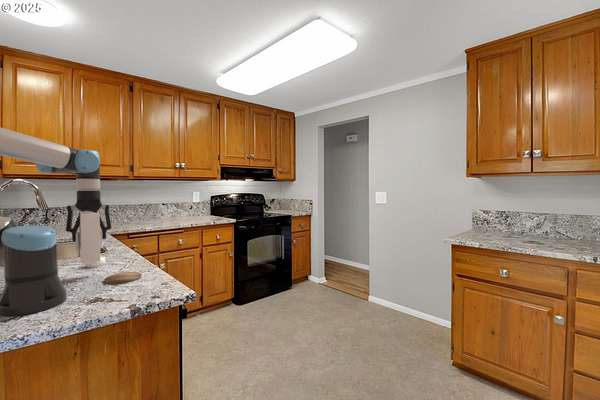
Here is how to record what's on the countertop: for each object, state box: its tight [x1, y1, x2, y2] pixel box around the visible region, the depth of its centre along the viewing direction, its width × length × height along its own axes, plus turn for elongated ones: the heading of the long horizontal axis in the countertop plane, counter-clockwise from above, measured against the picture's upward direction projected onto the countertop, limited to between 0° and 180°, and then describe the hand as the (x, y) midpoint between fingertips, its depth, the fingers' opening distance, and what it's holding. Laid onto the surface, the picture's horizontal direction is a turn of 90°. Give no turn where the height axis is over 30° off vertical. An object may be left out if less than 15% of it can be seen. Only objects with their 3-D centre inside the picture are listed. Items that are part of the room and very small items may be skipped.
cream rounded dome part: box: [85, 255, 106, 269], centre depth 128 cm, size 7×7×4 cm
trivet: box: [104, 271, 142, 285], centre depth 110 cm, size 12×12×1 cm
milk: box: [78, 209, 101, 265], centre depth 113 cm, size 6×6×22 cm
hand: (90, 248), depth 114 cm, fingers closed on milk, 7 cm apart
